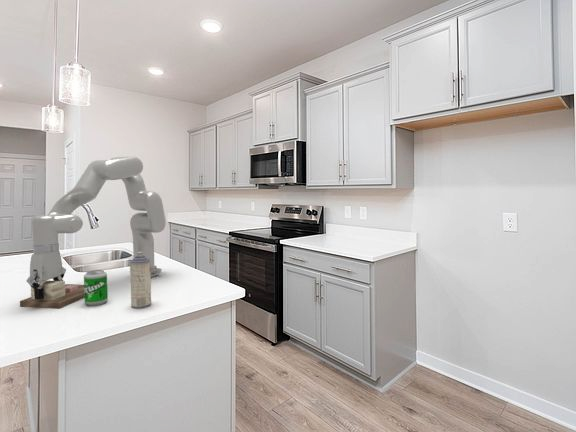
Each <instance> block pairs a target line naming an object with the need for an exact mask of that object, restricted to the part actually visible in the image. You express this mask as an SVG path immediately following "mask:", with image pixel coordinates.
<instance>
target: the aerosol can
mask: <svg viewBox="0 0 576 432" xmlns="http://www.w3.org/2000/svg"><path fill="white" fill-rule="evenodd" d="M129 270H130V271H129V273H130V274H129V275H130V277H129V278H130V301H131V302H130V307H131V309H136V310H137V309H145V308H149V307H150V306H151V305H152V283H151V282H152V279H151V278H152V277H151V276H150V260H149V259H147V257H145V256H144V255H143V254H142V252H137V255H136V256H135V257H134V256H133V258H132V259H131V260H130V262H129Z"/></svg>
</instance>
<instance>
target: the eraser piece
mask: <svg viewBox="0 0 576 432" xmlns="http://www.w3.org/2000/svg"><path fill="white" fill-rule="evenodd" d="M77 289H78V286H75V285H68V286H65V292H72V291H74V290H77Z"/></svg>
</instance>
